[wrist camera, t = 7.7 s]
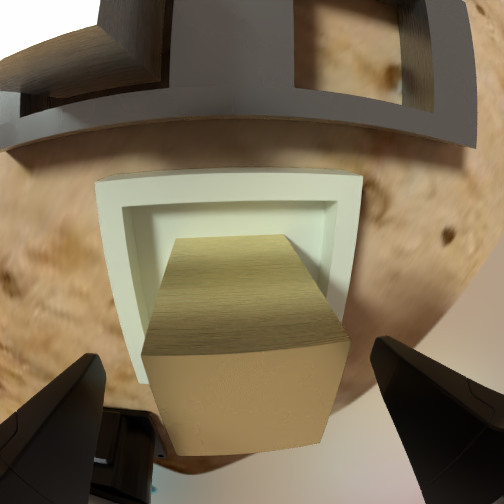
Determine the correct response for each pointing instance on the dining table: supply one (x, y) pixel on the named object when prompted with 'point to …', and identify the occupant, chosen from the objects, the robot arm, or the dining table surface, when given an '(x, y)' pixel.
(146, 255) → the tray
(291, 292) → the beige wooden block
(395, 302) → the dining table surface
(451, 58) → the rail
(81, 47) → the grey square block
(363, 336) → the dining table surface
